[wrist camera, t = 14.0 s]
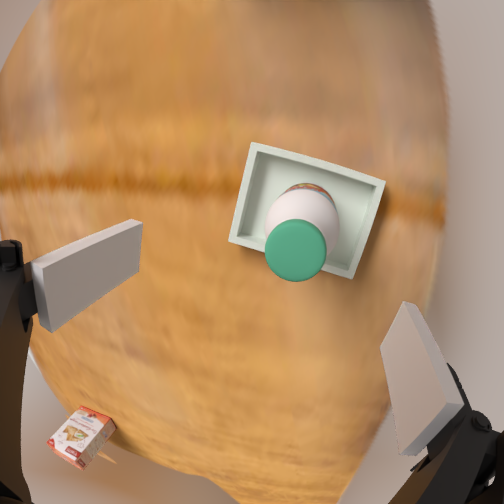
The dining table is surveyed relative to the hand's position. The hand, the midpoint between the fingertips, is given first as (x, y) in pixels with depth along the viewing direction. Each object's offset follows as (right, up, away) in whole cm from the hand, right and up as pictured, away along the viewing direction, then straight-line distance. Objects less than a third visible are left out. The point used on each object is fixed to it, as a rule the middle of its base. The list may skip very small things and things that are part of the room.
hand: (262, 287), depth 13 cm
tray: (+7, +8, +27) cm, 29 cm away
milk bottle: (+7, +7, +26) cm, 28 cm away
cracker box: (-50, -51, +59) cm, 93 cm away
